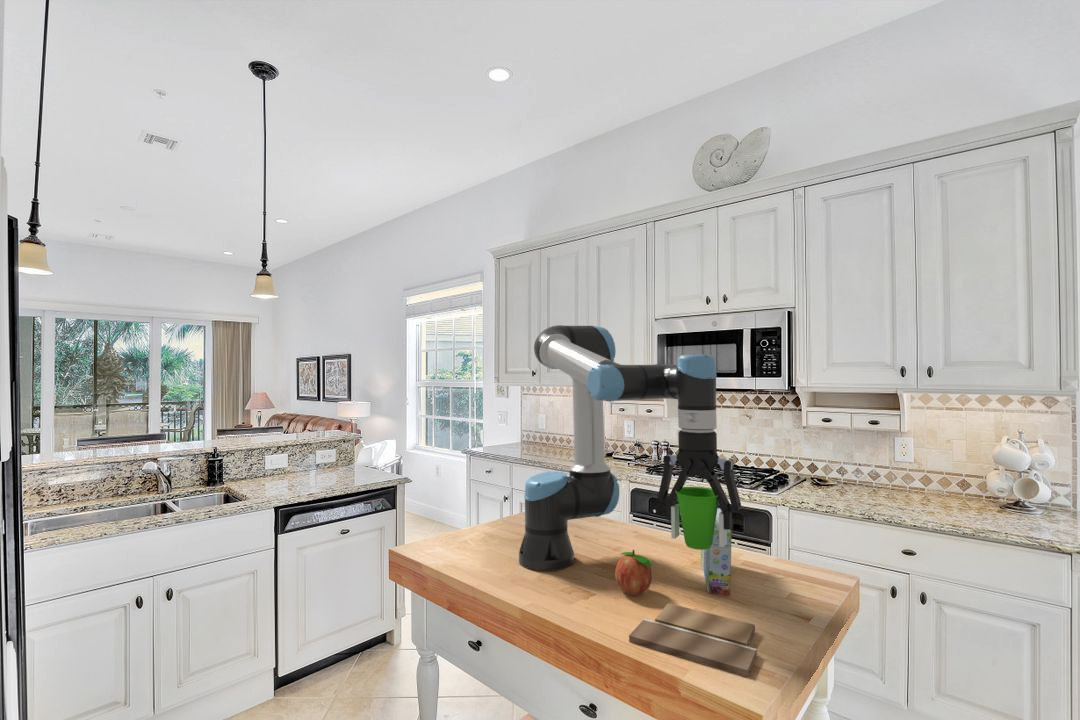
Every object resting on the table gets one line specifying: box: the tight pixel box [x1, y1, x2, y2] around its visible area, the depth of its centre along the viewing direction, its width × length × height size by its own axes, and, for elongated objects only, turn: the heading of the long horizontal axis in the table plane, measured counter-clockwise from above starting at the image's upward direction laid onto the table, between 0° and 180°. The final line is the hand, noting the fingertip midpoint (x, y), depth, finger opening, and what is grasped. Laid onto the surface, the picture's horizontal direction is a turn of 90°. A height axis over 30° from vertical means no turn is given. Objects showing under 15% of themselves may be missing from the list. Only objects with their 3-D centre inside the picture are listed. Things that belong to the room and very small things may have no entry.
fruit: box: [614, 549, 653, 596], centre depth 126 cm, size 9×10×10 cm
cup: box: [675, 486, 719, 551], centre depth 109 cm, size 9×9×11 cm
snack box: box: [700, 507, 732, 596], centre depth 135 cm, size 21×6×15 cm, turn 168°
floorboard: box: [628, 618, 758, 678], centre depth 102 cm, size 22×8×1 cm, turn 57°
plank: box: [654, 602, 756, 647], centre depth 109 cm, size 18×8×1 cm, turn 57°
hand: (698, 540), depth 109 cm, fingers closed on cup, 9 cm apart
